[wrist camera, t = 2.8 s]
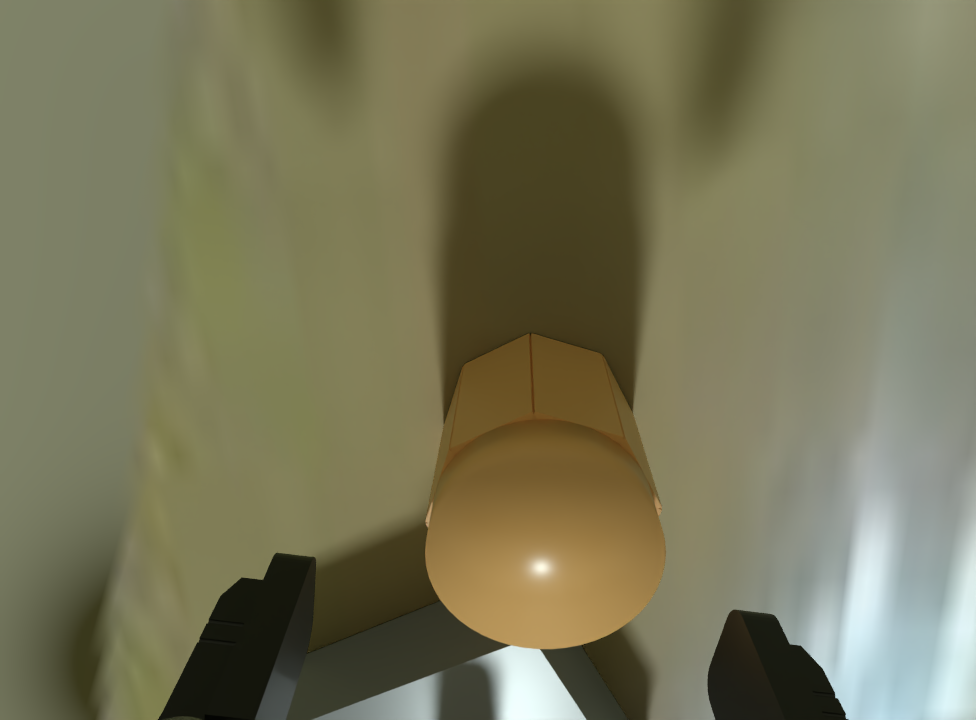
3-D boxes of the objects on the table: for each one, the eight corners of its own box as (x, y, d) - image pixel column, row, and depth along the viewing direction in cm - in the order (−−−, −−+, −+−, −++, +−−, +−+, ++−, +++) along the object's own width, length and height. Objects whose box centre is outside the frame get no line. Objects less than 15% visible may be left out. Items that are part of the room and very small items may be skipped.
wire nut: (579, 309, 19) (604, 417, 14) (653, 453, 21) (702, 601, 15) (417, 386, 20) (380, 514, 15) (500, 518, 22) (494, 676, 16)
